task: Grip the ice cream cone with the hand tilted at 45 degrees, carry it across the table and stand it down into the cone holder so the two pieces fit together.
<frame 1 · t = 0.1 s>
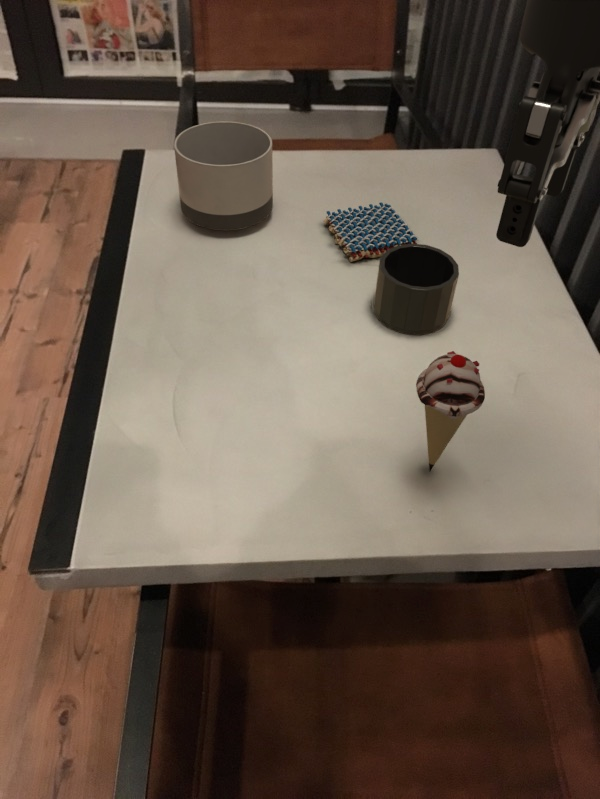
hand: (530, 215, 51), 25 cm above the table, tool pointing down, fingers open, 8 cm apart
ice cream cone: (428, 472, 66), on the table
cone holder: (410, 310, 83), on the table
planter: (227, 215, 97), on the table
woven mat: (370, 238, 94), on the table
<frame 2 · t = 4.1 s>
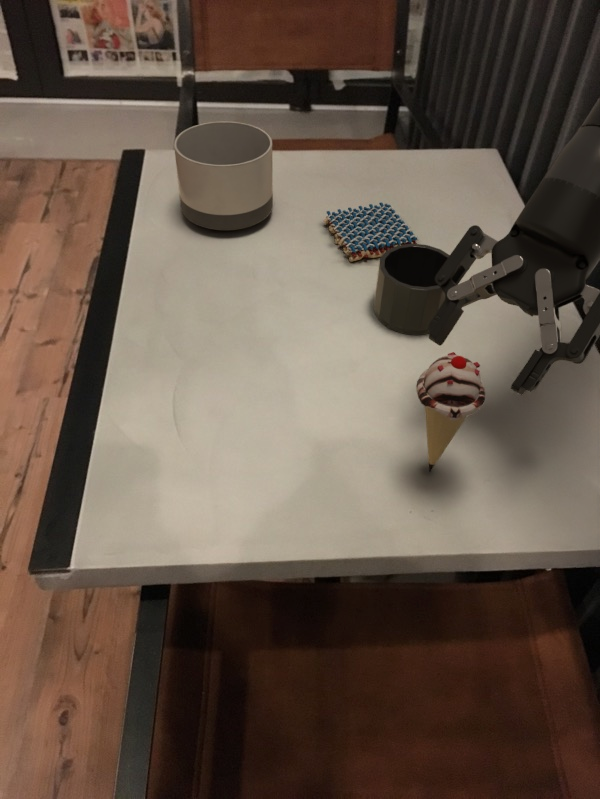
hand: (473, 366, 59), 12 cm above the table, tool tilted 45°, fingers open, 8 cm apart
nothing on the table moved.
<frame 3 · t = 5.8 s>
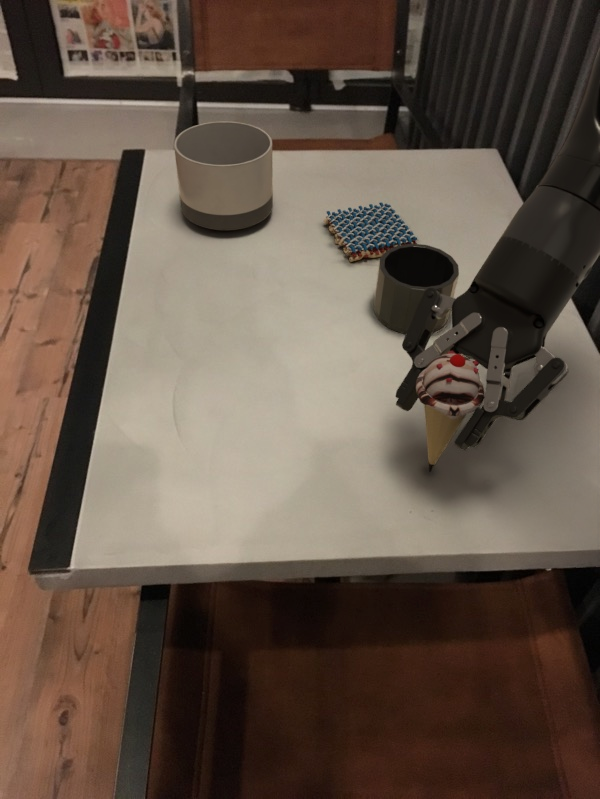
hand: (430, 426, 59), 8 cm above the table, tool tilted 45°, fingers closed on ice cream cone, 5 cm apart
ice cream cone: (428, 472, 66), on the table, touching gripper
everything else where it was.
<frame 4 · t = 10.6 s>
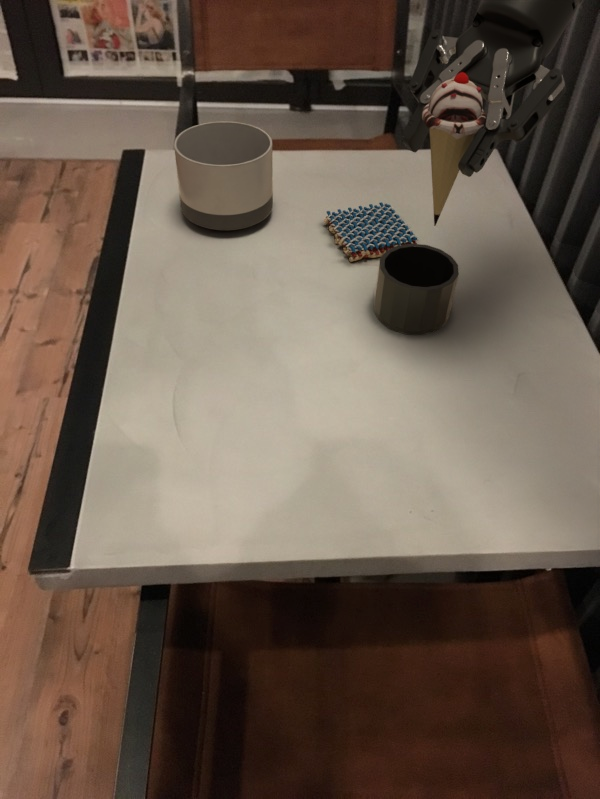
hand: (436, 159, 63), 22 cm above the table, tool tilted 45°, fingers closed on ice cream cone, 5 cm apart
ice cream cone: (433, 227, 69), point 14 cm above the table, touching gripper
everything else where it was.
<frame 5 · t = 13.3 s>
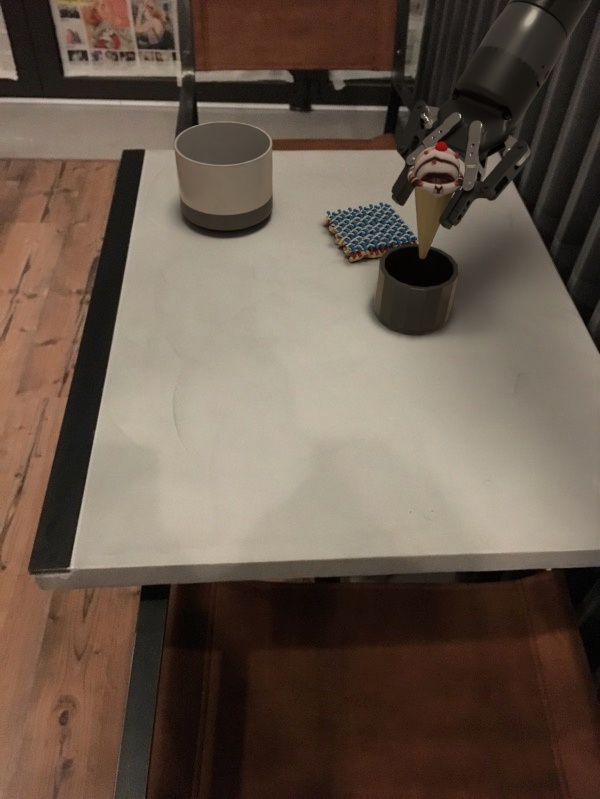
hand: (420, 213, 72), 14 cm above the table, tool tilted 45°, fingers closed on ice cream cone, 5 cm apart
ice cream cone: (419, 269, 78), point 6 cm above the table, touching gripper
everything else where it was.
when the fingers open (8 cm above the table, at t = 15.4 s): ice cream cone stays where it is, resting on cone holder.
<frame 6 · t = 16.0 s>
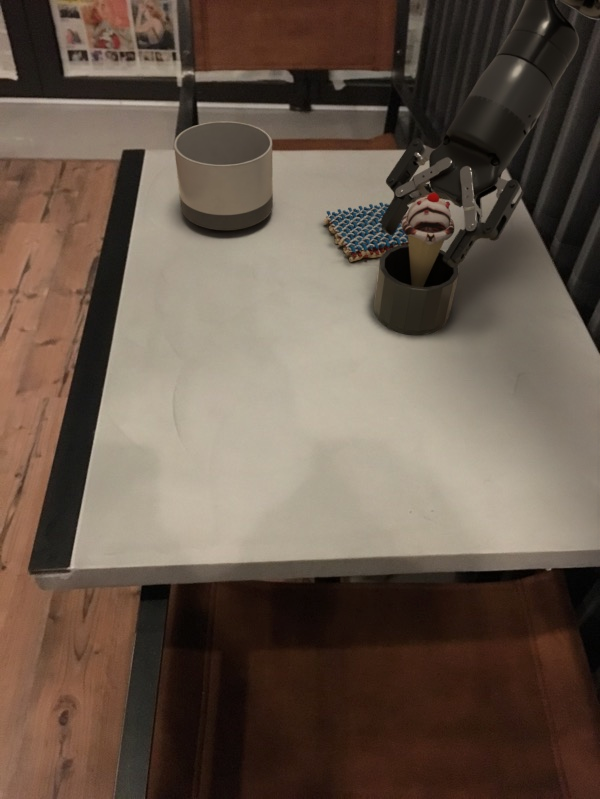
hand: (415, 247, 75), 10 cm above the table, tool tilted 45°, fingers open, 8 cm apart
ice cream cone: (412, 307, 82), resting on cone holder
everything else where it was.
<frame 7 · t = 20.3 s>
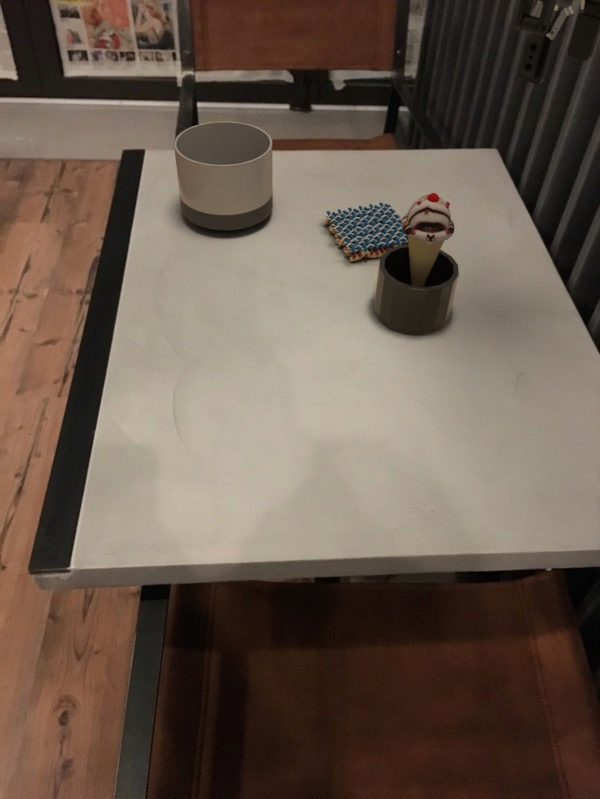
hand: (555, 69, 63), 28 cm above the table, tool pointing down, fingers open, 8 cm apart
nothing on the table moved.
at the end: ice cream cone 0.2 cm off-centre in the cone holder, point 0.4 cm above the cone holder's base; ice cream cone tilted 0°; the gripper is holding nothing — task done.
